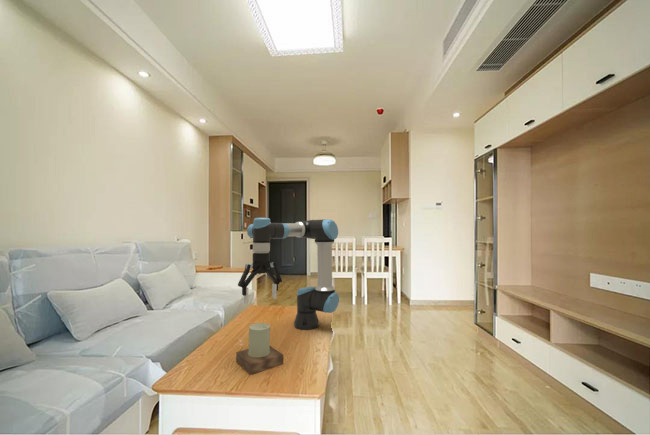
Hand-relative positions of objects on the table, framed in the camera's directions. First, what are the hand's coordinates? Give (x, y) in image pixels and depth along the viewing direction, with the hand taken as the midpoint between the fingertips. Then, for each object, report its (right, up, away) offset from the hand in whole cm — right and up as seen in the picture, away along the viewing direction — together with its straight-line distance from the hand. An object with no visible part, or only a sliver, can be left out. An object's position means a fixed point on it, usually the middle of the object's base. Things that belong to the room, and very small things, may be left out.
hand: (260, 300), depth 123 cm
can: (0, -23, -2) cm, 23 cm away
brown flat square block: (0, -27, -2) cm, 27 cm away
